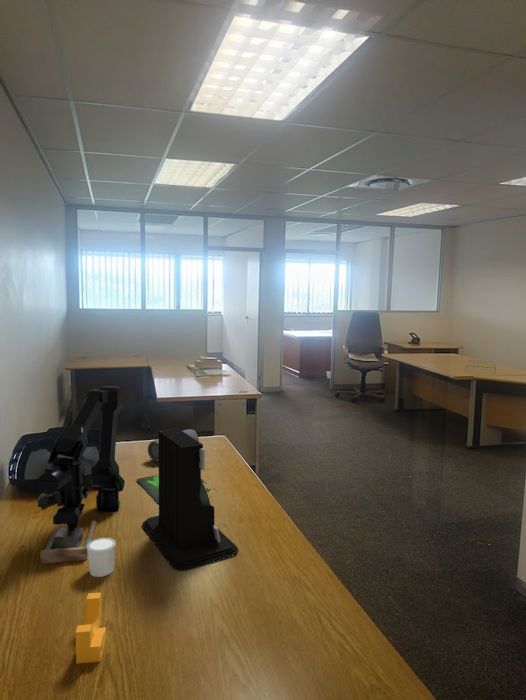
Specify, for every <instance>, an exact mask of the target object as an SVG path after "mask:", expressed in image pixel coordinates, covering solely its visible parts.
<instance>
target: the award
mask: <svg viewBox="0 0 526 700" xmlns="http://www.w3.org/2000/svg"><path fill="white" fill-rule="evenodd" d="M183 431H184V430H181V428H179V427H177V428H171V429H162V430H158V439H159V461H158V475H159V504H158V515H155V516H151V517H148V518H147V519H146V520H144V521H142V524H141V526H142V528H143V530H144V531H145V532H146V533H147V535H148V536H149V538H150V539H151V540H152V542H153V543H154V545H155V546H156V547H157V548H158V550H159V551H160V553H161V554H162V555H163V557H164V558H165V560H166V562H168V564H169V565H170V567H171V568H172V569H174V570H175V571H188V570H190V569H194V568H198V567H202V566H205V565H208V564H207V563H209V564H211V563H210V562H212V563H214V562H213V561H215V562H218V561H217V560H219V561H221V560H220V559H222V560H224V559H223V558H226V559H228V558H227V557H229V556H232V555H235V554H236V553H237V552H238V553H239V548H238V546H237V545H236V544H235V543H234V542H233V541H232V540H231V539H229V537H227V536H226V535H225V534H224V532H222V531H221V530H220V528H218V526H216V525H215V506H213V505H212V504H211V501H210V497H208V494H207V492H206V489H205V487H204V485H203V483H202V481H201V479H202V471H205V466H206V465H205V464H206V463H205V459H206V450H205V449H204V444H203V443H202V442H200V440H199V441H198V442H197V440H195V439H194V438H192V437H190V436H189V435H187V433H186V434H185V432H183ZM238 553H237V554H238ZM237 554H236V555H237ZM236 555H235V556H236ZM229 558H230V557H229ZM204 564H205V565H204ZM201 565H202V566H201ZM197 566H198V567H197Z"/></svg>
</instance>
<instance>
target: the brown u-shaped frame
mask: <svg viewBox="0 0 526 700" xmlns="http://www.w3.org/2000/svg"><path fill="white" fill-rule="evenodd" d="M97 524H98V523H97V520H92V522H91V525H90V527H89V531H88V535H87V538H86V541H85V544H84V546H80V547H73V548H61V549H54V536H55V535H56V533H57V532H58V530H59V529H60V528H62V524H57V525H55V526H54V528H53V531H52V533H51V534H50V535H51V536H50V538H49V540H48V542H47V545H46V547H45V549H41V550H40V553H39V554H40V556H39V557H40V564H41V565H42V564H43V565H44V564H53V563H61V562H62V563H64V562H77V561H85V560H88V552H87V544H88V543H89V542H91V541H93V540H94V537H95V533H96V529H97ZM52 547H53V548H52Z"/></svg>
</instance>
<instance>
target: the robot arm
mask: <svg viewBox="0 0 526 700" xmlns="http://www.w3.org/2000/svg"><path fill="white" fill-rule="evenodd" d="M126 395H127V394H126V391H125V390H124V389H123V387H122V386H114V385H113V386H111V385H102V386H100V388H96V389H95V388H94V389H90V390H89V391H88V392H87V394H86V399H85V400H84V402H83V404H82V406H81V408H80V410H79V411H78V413H77V415H76V416H75V418H74V419H73V422H72V424H70V426H69V427H66V428H65V429H64V430H62V431H61V433H60V434H59V435H58V436H57V438H56V439H55V440H54V444H53V446H52V448H51V451H50V454H49V457H48V461H47V464H48V465H50V466H47V467H45V469H44V472H43V474H41V475H40V476H39V478H38V480H37V486H38V488H39V490H40V491H41V492H42V493H41V494H40V495H38V498H37V500H36V501H37V507H38V508H40V509H41V511H44V510H46V509H47V508H49V507H52V506H55V505H57V507H59V508H58V509H57V510H55V512H54V514H53V516H52V524H53V525H55V526H56V525H57V524H61V525H67V528H78V524H79V523H80V519H81V516H82V515H83V511H84V508H85V503H82V502H83V499H84V500H85V499H87V498H88V496H89V489H88V488H87V486H83V484H84V479H83V473H82V472H83V471H82V470H83V469H82V467H83V466H82V462H83V461H84V460H86V457H85V456H84V454H85V452H86V449H87V445H88V443H89V442H88V433H89V431H90V429H91V428H92V425H93V423H94V422H95V420H96V418H97V416H98V414H99V413H101V420H100V422H101V423H100V436H99V437H100V438H99V450H98V451H99V452H98V459H97V462H95V464H94V465H92V467H91V469H90V471H91V472H90V473H91V474H90V484H91V487H92V491H94V492H97V493H96V496H95V498H96V506H95V508H96V509H97V513H103V512H104V513H106V512H107V513H109V512H118V511H119V510H120V505H121V501H120V493H121V492H123V491H124V488H125V482H126V481H125V479H124V478H123V477H122V476H121V475H120V466H119V465H118V463H117V460H116V445H117V444H116V443H117V433H118V431H117V429H118V418H119V416H118V415H119V413H120V411H121V410H122V409H123V407H124V405H125V399H126Z"/></svg>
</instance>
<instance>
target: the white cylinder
mask: <svg viewBox="0 0 526 700" xmlns="http://www.w3.org/2000/svg"><path fill="white" fill-rule="evenodd" d="M87 552H88V557H87V560H88V568H89V573H90V576H92V577H94V578H95V577H98V578H101V577H102V578H103V577H105V576H108V575H110V574H112V573H113V571H114V567H115V555H116V540H115V539H113V538H112V537H100V538H94V539H93V540H92V541H91V542H89V543H88V544H87Z"/></svg>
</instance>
